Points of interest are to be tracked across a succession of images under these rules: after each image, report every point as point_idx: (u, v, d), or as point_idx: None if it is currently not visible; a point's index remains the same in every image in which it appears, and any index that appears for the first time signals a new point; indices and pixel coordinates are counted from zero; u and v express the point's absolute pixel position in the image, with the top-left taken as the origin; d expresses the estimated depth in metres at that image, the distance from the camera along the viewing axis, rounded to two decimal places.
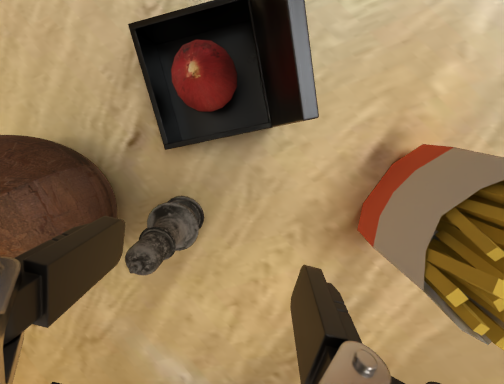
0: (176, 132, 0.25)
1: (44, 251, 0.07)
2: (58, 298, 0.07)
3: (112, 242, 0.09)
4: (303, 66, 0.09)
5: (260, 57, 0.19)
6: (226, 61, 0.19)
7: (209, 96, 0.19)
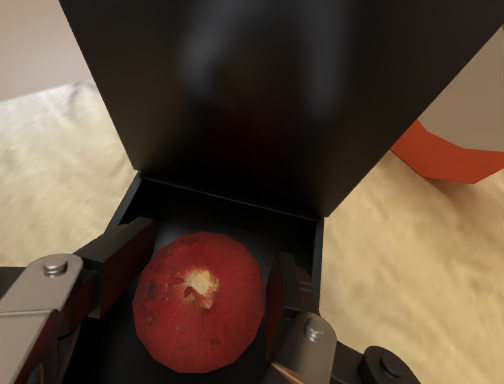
0: None
1: (97, 249, 0.07)
2: (108, 292, 0.08)
3: (147, 241, 0.10)
4: None
5: (228, 187, 0.12)
6: (209, 233, 0.11)
7: (252, 290, 0.09)
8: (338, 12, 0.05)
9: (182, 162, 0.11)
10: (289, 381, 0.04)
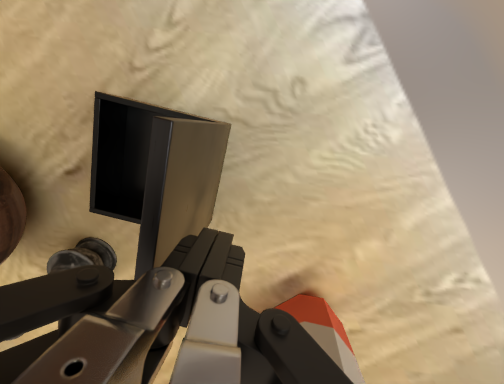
0: (114, 190, 0.25)
1: (186, 262, 0.08)
2: (193, 302, 0.08)
3: None
4: None
5: None
6: None
7: None
8: None
9: None
10: (202, 349, 0.04)
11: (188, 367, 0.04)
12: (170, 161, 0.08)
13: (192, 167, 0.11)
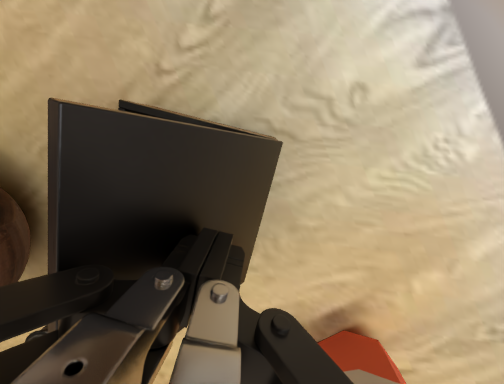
0: None
1: (186, 262, 0.08)
2: (193, 302, 0.08)
3: None
4: None
5: None
6: None
7: None
8: None
9: None
10: (202, 349, 0.04)
11: (188, 367, 0.04)
12: (71, 162, 0.06)
13: (170, 182, 0.09)
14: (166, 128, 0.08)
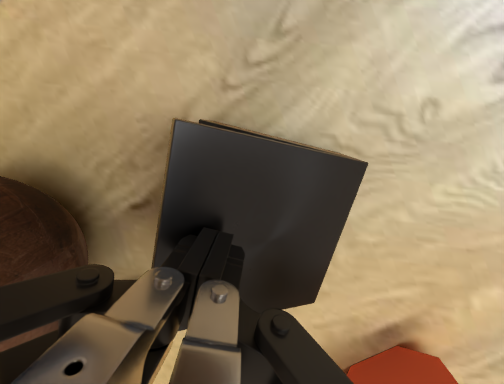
0: None
1: (186, 262, 0.08)
2: (193, 302, 0.08)
3: None
4: None
5: None
6: None
7: None
8: None
9: None
10: (202, 349, 0.04)
11: (188, 367, 0.04)
12: (176, 155, 0.09)
13: (240, 181, 0.11)
14: (240, 139, 0.10)
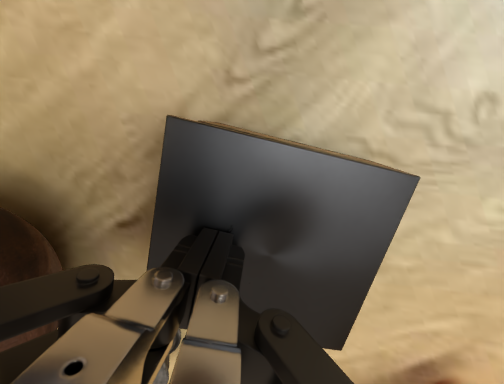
0: None
1: (185, 262, 0.08)
2: (193, 302, 0.08)
3: None
4: None
5: None
6: None
7: None
8: None
9: None
10: (202, 349, 0.04)
11: (188, 367, 0.04)
12: (168, 149, 0.10)
13: (234, 181, 0.10)
14: (233, 137, 0.10)
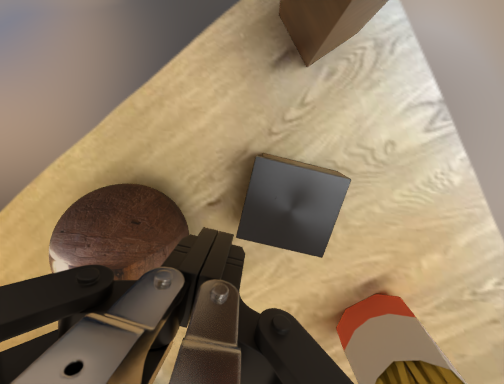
0: None
1: (186, 262, 0.08)
2: (193, 302, 0.08)
3: None
4: None
5: None
6: None
7: None
8: None
9: None
10: (202, 349, 0.04)
11: (188, 367, 0.04)
12: (255, 167, 0.28)
13: (278, 179, 0.28)
14: (278, 163, 0.27)
